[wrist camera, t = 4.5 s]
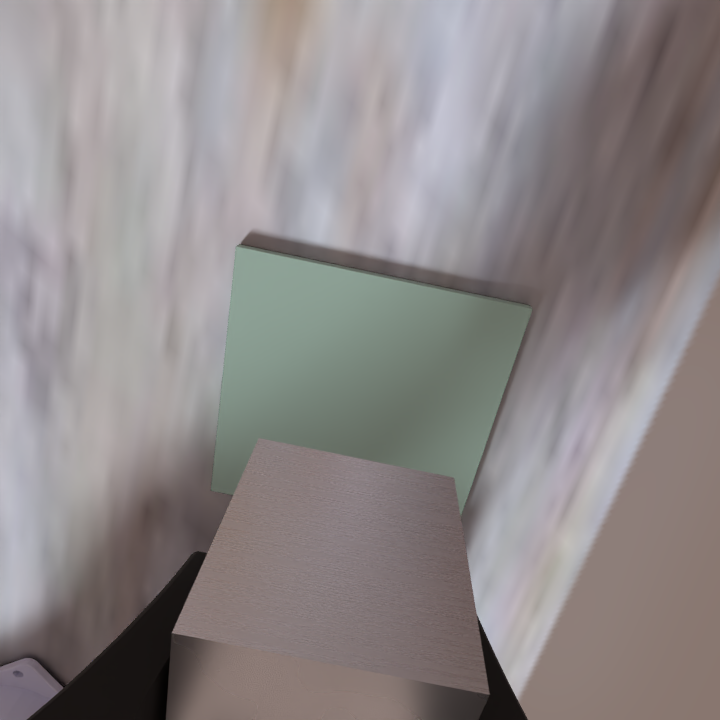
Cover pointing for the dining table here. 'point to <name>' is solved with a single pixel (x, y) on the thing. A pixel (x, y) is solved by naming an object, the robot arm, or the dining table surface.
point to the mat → (360, 367)
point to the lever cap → (331, 598)
